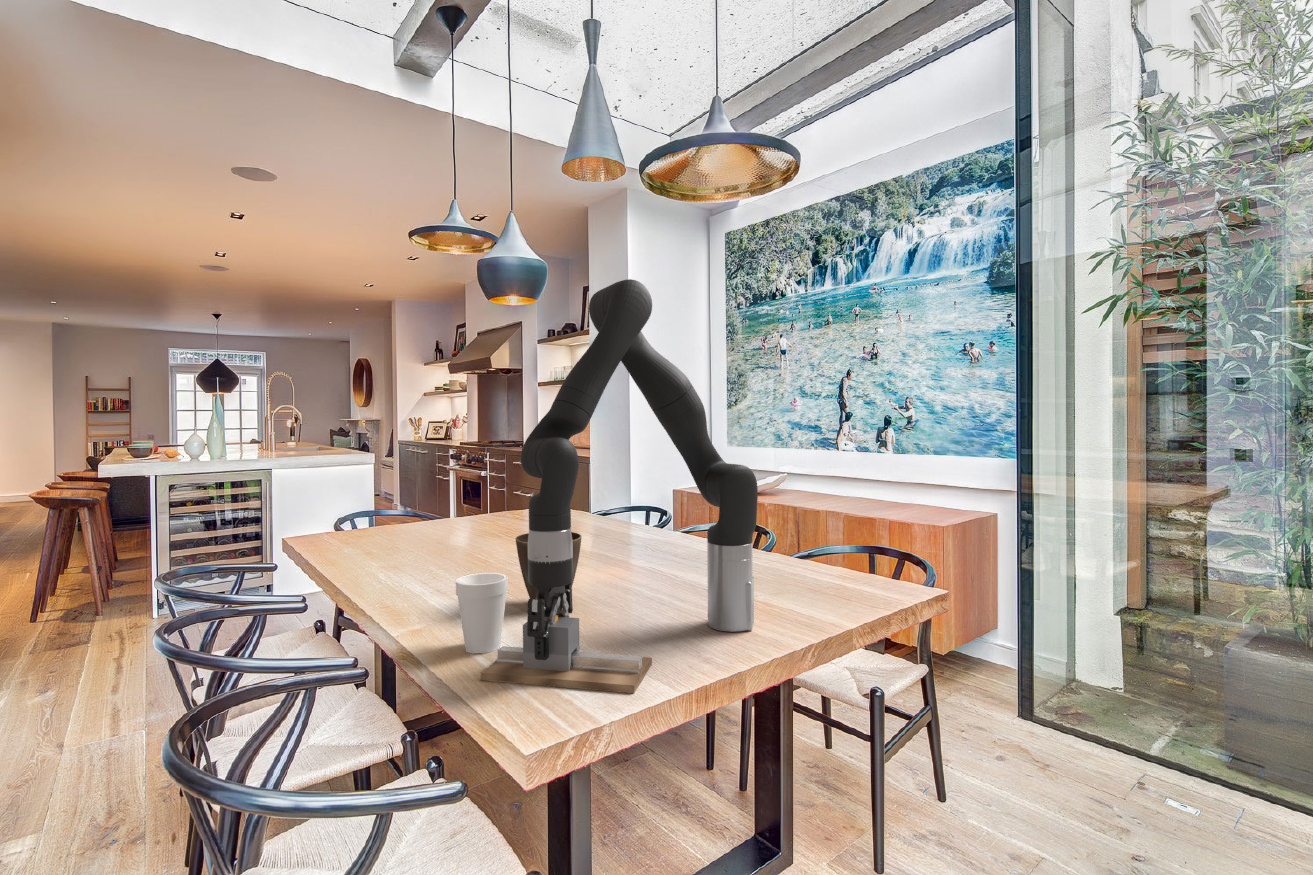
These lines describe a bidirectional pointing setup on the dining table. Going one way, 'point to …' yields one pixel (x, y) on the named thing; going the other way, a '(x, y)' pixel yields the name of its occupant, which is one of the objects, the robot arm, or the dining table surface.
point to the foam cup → (482, 610)
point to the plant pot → (523, 559)
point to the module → (554, 645)
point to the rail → (582, 660)
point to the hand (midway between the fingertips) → (551, 650)
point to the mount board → (567, 677)
